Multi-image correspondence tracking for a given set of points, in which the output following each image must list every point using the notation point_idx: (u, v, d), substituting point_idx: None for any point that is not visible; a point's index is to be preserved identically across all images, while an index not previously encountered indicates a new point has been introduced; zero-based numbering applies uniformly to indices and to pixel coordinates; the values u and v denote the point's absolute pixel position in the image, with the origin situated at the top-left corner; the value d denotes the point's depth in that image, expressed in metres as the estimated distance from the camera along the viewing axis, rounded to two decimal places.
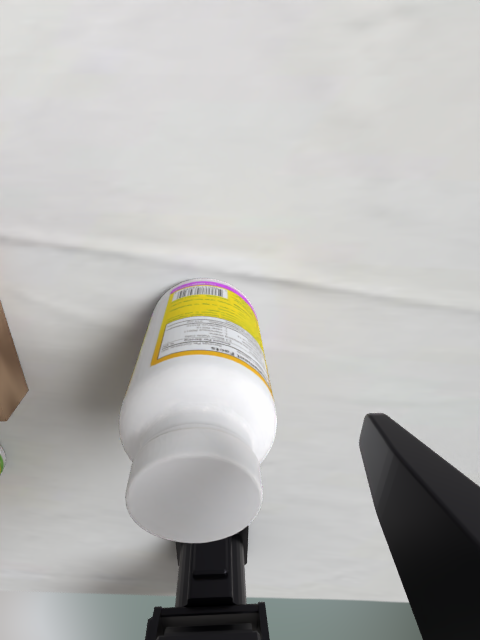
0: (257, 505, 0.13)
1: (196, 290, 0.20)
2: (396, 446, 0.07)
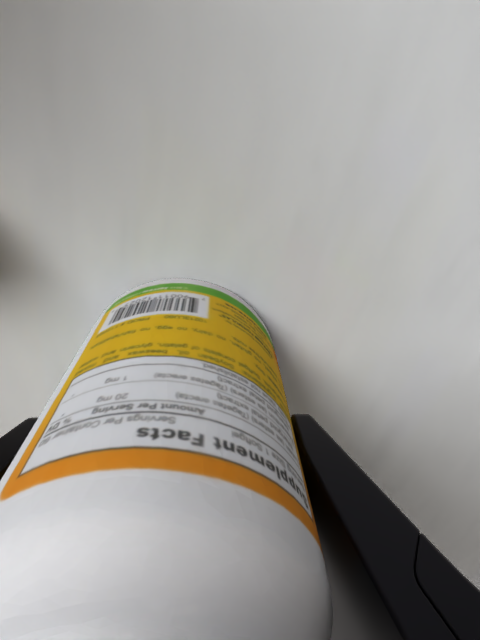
0: None
1: None
2: (309, 447, 0.07)
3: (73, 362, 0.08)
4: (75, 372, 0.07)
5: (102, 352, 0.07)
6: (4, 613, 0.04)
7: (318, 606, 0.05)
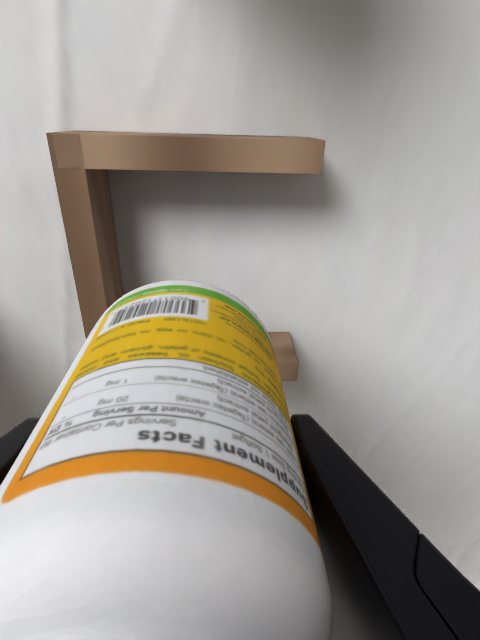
0: None
1: None
2: (309, 447, 0.07)
3: (73, 364, 0.08)
4: (75, 375, 0.07)
5: (102, 354, 0.07)
6: (8, 615, 0.04)
7: (318, 607, 0.05)
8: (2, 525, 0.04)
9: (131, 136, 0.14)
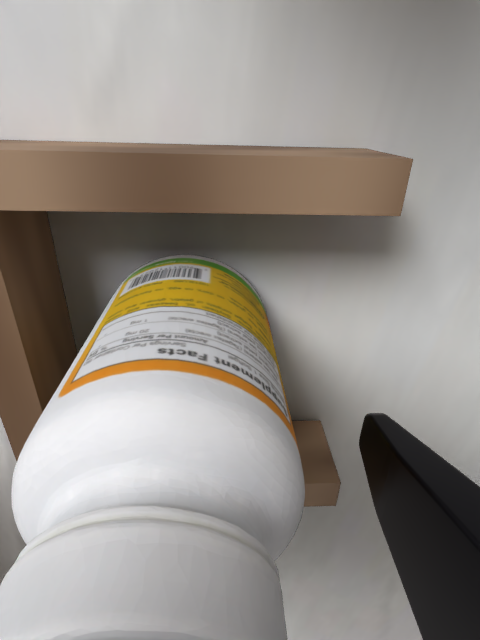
0: None
1: None
2: (396, 446, 0.07)
3: (100, 318, 0.10)
4: (104, 322, 0.09)
5: (125, 306, 0.09)
6: (72, 457, 0.06)
7: (291, 471, 0.06)
8: (62, 406, 0.06)
9: (61, 153, 0.08)
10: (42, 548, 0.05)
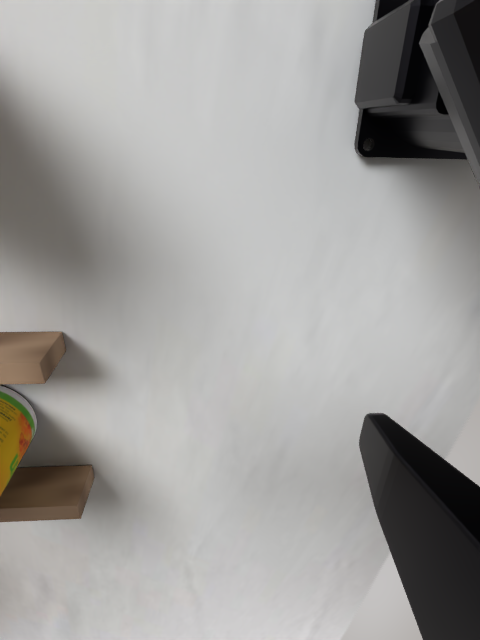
0: None
1: None
2: (396, 446, 0.07)
3: None
4: None
5: None
6: None
7: None
8: None
9: None
10: None
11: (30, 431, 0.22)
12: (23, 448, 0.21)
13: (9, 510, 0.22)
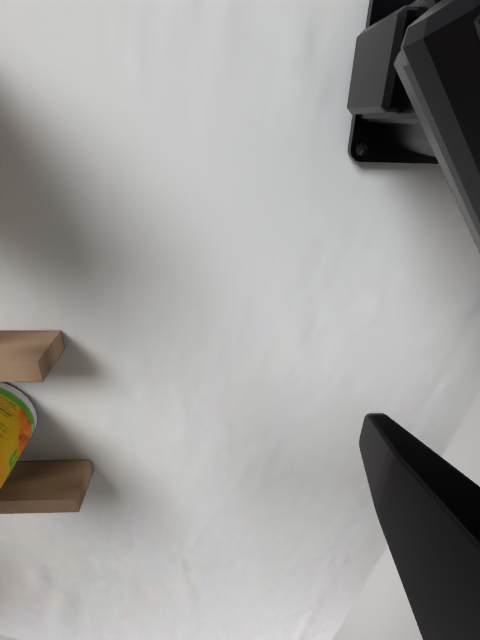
0: None
1: None
2: (396, 446, 0.07)
3: None
4: None
5: None
6: None
7: None
8: None
9: None
10: None
11: (30, 427, 0.23)
12: (23, 443, 0.22)
13: (10, 502, 0.23)
